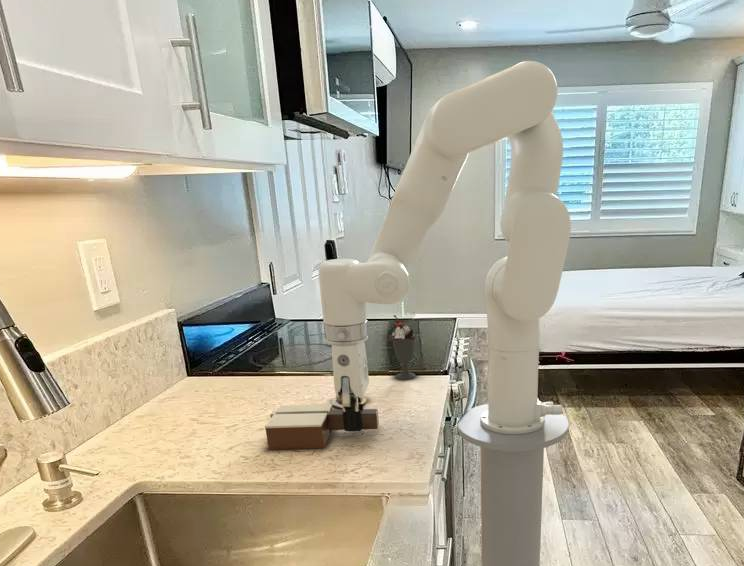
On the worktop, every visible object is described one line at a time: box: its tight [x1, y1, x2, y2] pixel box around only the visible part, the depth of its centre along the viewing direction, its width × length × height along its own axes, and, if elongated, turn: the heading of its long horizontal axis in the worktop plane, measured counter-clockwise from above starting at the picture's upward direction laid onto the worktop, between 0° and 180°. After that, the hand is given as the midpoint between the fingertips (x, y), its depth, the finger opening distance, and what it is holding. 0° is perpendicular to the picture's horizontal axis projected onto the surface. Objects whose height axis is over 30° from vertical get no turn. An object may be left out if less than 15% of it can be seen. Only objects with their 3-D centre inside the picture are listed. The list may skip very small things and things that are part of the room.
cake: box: [264, 413, 331, 450], centre depth 104 cm, size 10×6×5 cm, turn 90°
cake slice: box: [275, 403, 333, 434], centre depth 109 cm, size 10×4×5 cm, turn 90°
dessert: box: [330, 395, 367, 409], centre depth 123 cm, size 8×7×6 cm
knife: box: [269, 408, 380, 431], centre depth 107 cm, size 20×2×3 cm, turn 90°
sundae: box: [388, 314, 418, 381], centre depth 136 cm, size 7×7×15 cm
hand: (354, 426), depth 107 cm, fingers closed on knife, 2 cm apart
